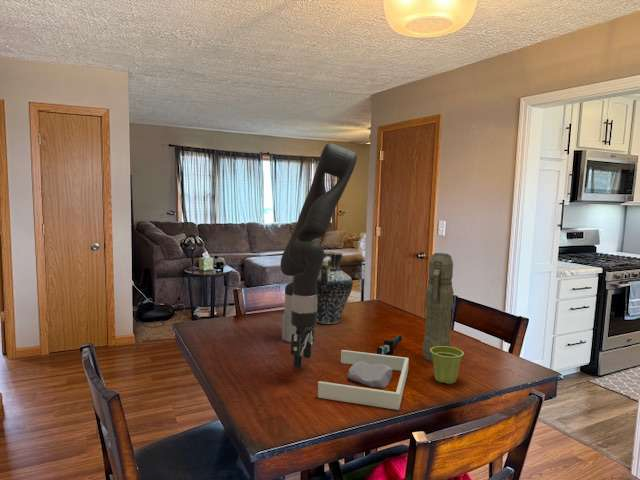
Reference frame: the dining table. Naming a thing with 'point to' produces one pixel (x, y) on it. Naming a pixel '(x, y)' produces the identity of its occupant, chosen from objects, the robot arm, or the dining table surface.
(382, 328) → the dining table surface
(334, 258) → the jug
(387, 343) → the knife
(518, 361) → the dining table surface
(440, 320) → the stone statue
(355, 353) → the cream u-shaped barrier
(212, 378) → the dining table surface
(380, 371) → the stone block
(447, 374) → the plant pot
